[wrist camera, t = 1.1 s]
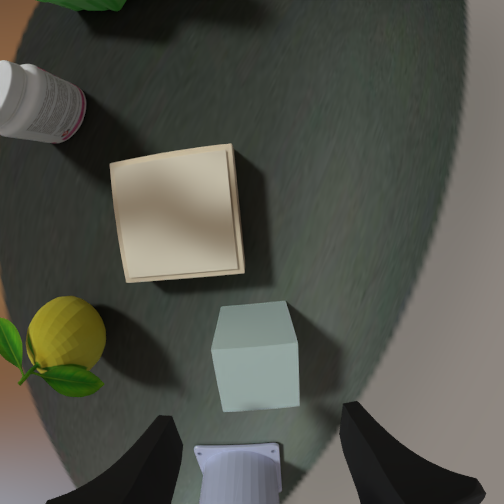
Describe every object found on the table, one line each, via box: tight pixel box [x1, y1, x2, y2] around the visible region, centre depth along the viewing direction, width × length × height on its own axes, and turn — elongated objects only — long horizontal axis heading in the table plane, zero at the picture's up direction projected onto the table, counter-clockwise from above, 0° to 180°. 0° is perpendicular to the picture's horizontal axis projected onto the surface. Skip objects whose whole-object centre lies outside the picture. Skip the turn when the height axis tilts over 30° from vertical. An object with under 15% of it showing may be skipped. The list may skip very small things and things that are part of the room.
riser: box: [110, 144, 245, 283], centre depth 18 cm, size 8×8×3 cm
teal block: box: [211, 301, 300, 412], centre depth 18 cm, size 4×4×6 cm
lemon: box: [0, 296, 106, 397], centre depth 16 cm, size 7×6×10 cm
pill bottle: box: [0, 60, 86, 143], centre depth 14 cm, size 5×5×8 cm
